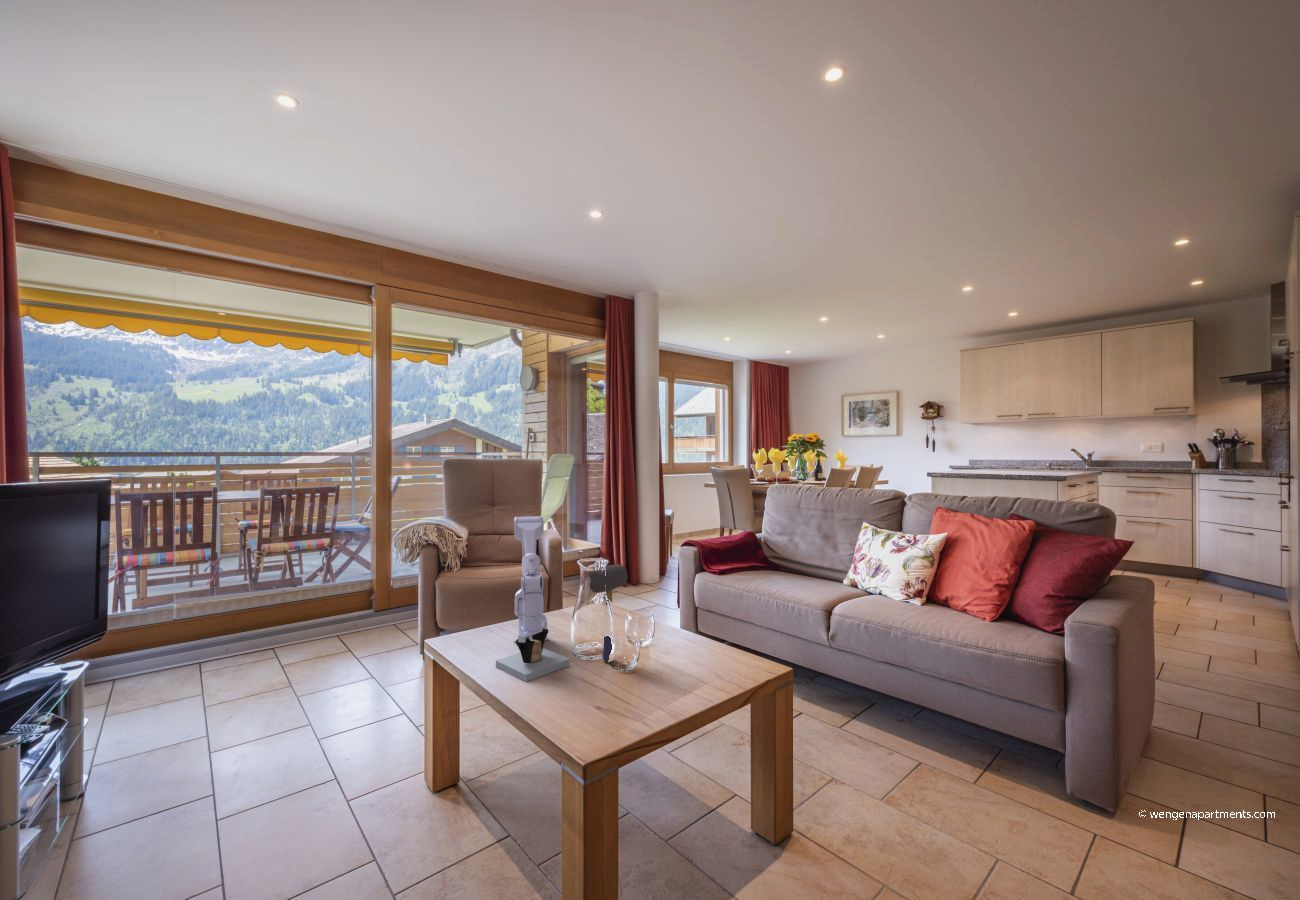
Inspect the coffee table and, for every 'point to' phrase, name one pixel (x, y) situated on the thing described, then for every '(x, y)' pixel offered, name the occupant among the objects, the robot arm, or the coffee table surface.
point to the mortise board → (532, 665)
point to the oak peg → (536, 652)
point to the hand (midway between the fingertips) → (532, 657)
